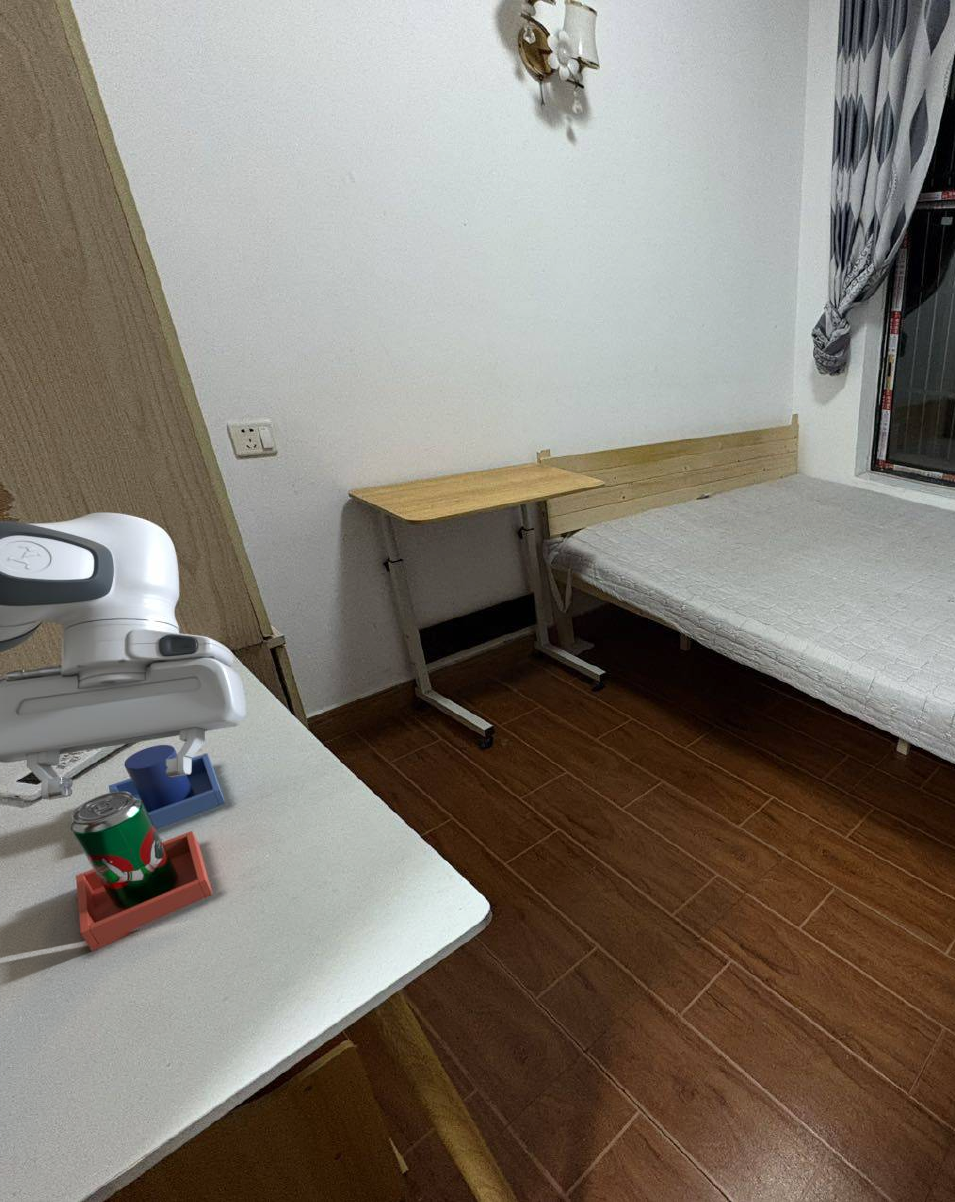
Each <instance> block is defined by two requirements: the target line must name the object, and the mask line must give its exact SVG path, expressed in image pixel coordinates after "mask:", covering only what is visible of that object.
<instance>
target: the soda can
mask: <svg viewBox="0 0 955 1202" xmlns="http://www.w3.org/2000/svg"><path fill="white" fill-rule="evenodd" d="M71 820H72V822H71V824H70V831H71V832H72V834H73V835H74V837H75V839H76V841H77V842H78V844H79V846H80V848H81V850H82V851H83V853H84V856H85V857H86V858H87V860H88V862H89V864H90V866H91V867H92V869H94V871H95V873H96V874H97V876H98V878H99V880H100V881H101V883H102V885H103V887H104V888H105V890H106V892H107V894H108V895H109V897H110V899H111V901H112V902H113V904H114V905H115V906H116V907H118V908H122V909H129V908H131V907H134V906H136V905H138V904H141V903H143V902H145V901H148V900H150V899H153V898H155V897H157V896H160V895H162V894H164V893H167V892H169V891H171V889H172V888H173V887H174V885H175V884H176V882H177V880H178V873H177V871H176V869H175V867H174V865H173V863H172V861H171V859H170V857H169V855H168V853H167V851H166V849H165V847H164V845H163V843H162V842H163V840H162V839H161V837H160V834H159V833H158V829H156V828H155V826H154V824H153V822H152V820H151V818H150V816H149V814H148V812H147V810H146V808H145V806H144V804H143V802H142V800H141V799H139V798H137V797H134V796H133V794H131V793H130V792H126V791H118V792H111V793H110V792H107V793H104V794H100V795H98V796H96V797H94V798H90V799H89V800H87V801H85V802H83V803H82V804H81V805H79V806H78V807H77V808H76V809H75V810H74V811H73V812H72V814H71Z"/></svg>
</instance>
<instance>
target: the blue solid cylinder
mask: <svg viewBox="0 0 955 1202" xmlns="http://www.w3.org/2000/svg"><path fill="white" fill-rule="evenodd" d="M177 755H178V753H177V750H176V749H175V747H174V746H172V745H169V744H158V745H153V746H149V747H146V748H143V749H141V750H138V751H137V752H134V753H133V754H131V755H129V756H128V757H127V759H125V761H124V768H125V770H126V772H127V773H128V776H129V777H130V778H131V780H132V782H133V784H134V786H135V788H136V790H137V792H138V794H139V796H140V798H141V800H142V802H143V804H144V806H145V808H146V810H147V811H148V812H152V811H154V810H157V809H160V808H163V807H166V806H168V805H171V804H174V803H177V802H179V801H182V800H185V799H188V798H191V797H193V796H194V791H193V789H192V787H191V784H190V782H189V780H188V778H187V775H184V776H178V777H168V776H167V775H166V769H167V768H168V767H167V766H166V759H171V758H177V757H176V756H177ZM130 778H129V779H130Z"/></svg>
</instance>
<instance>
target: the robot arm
mask: <svg viewBox="0 0 955 1202" xmlns="http://www.w3.org/2000/svg"><path fill="white" fill-rule="evenodd" d="M174 544H175V543H174V542H173V540H172V539H171V536H170V535H169V534H168V533H167V532H166V530H164V529H163V527H160V525H158V524H156V523H154V522H152V521H150V520H147V519H144V518H142V517H139V516H135V515H131V514H127V513H119V512H110V511H109V512H108V511H104V512H93V513H88V514H85V515H83V516H81V517H78V518H74V519H69V520H64V521H55V522H54V521H53V522H43V523H41V522H40V523H37V522H36V523H25V522H19V521H11V520H0V653H3V652H6V651H8V650H11V649H14V648H16V647H18V646H19V645H21V644H23V643H25V642H26V641H27V640H28V639H29V638H31V637H32V636H33V635H34V634H35V633H36V631H37V630H38V629H39V628H40V626H41V625H42V624H43V623H55V624H57V625H60V627H62V643H61V644H62V646H61V664H59V665H53V666H45V667H44V666H43V667H40V668H35V669H27V670H26V669H18V670H12V671H9V672H7V673H5V675H4V676H1V677H0V763H2V764H3V763H5V764H8V763H16V762H22V761H26V767H27V768H28V769H29V770H30V771H31V773H32V774H33V775H34V776H35V777H36V779H38V780H39V781H40V782H41V789H40V797H41V798H42V799H43V800H49V801H50V800H56V799H61V798H67V797H71V796H72V794H73V789H72V787H73V783H74V782H73V781H74V779H73V778H69V777H68V778H66V777H60V776H59V774H58V773H57V772H56V771H55V769H54V768H53V767H55V766H58V765H59V764H60V758H61V755H65V754H71V753H77V752H78V753H79V752H84V751H91V750H96V749H103V748H109V747H115V746H121V745H128V744H134V743H141V742H146V741H152V740H158V739H165V738H170V737H177V736H178V737H179V740H180V741H182V742H184V743H183V745H182V746H181V748H180V750H179V751H178V753H177V756H176V757H177V758H171V759H166V766H167V767H168V768H167V769H166V775H167V776H168V777H178V776H184V775H189V774H191V770H192V758H194V757H196V754H197V753H198V752H199V750H200V749H201V748H202V746H203V744H204V743H205V742H206V732H209V731H214V730H221V729H227V728H233V727H238V726H239V725H240V724H241V723H242V722H243V720H244V719H245V718H246V716H247V702H246V696H245V695H246V694H245V690H244V685H243V681H242V678H241V676H240V674H239V673H238V672H237V671H235V669H233V668H232V667H231V666H233V664H234V660H235V659H234V658H235V657H234V653H233V652H232V651H231V650H230V649H229V648H228V646H226V645H224V644H222V643H220V642H219V641H217V640H215V639H214V638H210V637H209V636H205V635H197V634H188V633H180V626H179V623H178V620H177V619H176V614H175V613H176V612H175V609H176V606H177V604H178V601H179V599H180V574H179V564H178V556H177V551H176V547H175V545H174Z"/></svg>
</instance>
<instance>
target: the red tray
mask: <svg viewBox="0 0 955 1202" xmlns="http://www.w3.org/2000/svg"><path fill="white" fill-rule="evenodd" d="M162 843H163V845H164V847H165V849H166V851H167V853H168V855H169V857H170V859H171V861H172V863H173V865H174V867H175V869H176V871H177V873H178V880H177V882H176V884H175V885H174V887H173V888H172V889H171V891H169V892H167V893H164V894H162V895H160V896H157V897H155V898H153V899H150V900H148V901H145V902H143V903H141V904H138V905H136V906H134V907H131V908H129V909H122V908H118V907H116V906H115V905H114V904H113V902H112V901H111V899H110V897H109V895H108V894H107V892H106V890H105V888H104V887H103V885H102V883H101V881H100V880H99V878H98V876H97V874H96V873H95V871H94V869H93V868H92V869H90V870H87V871H85V872H82V873H79V874H77V875H75V880H76V892H77V906H78V919H79V931H80V933H79V934H80V935H81V937H82V938H83V940H84V941H85V943H86V945H87V946H88V948H89V950H90V951H91V952H94V951H97V950H98V949H101V948H103V947H106V946H107V945H110V944H112V943H114V942H116V941H119V940H121V939H123V938H125V937H128V936H130V935H132V934H135V933H136V932H139V931H140V929H138V928H140V927H143V926H145V925H147V924H149V923H152V922H153V921H156V920H159V919H161V918H163V917H165V916H167V915H169V914H172V913H174V912H176V911H178V910H179V911H180V910H181V909H183V908H185V907H188V906H189V905H192V904H194V903H196V902H199V901H202V900H203V899H206V898H208V897H210V896H213V891H212V887H211V883H210V879H209V876H208V873H207V870H206V865H205V861H204V858H203V855H202V851H201V847H200V844H199V842H198V840H197V838H196V836H195V833H194V831H193V830H191V831H188V832H185V833H183V834H180V835H177V836H175V837H172V838H170V839H168V840H165V841H162ZM135 929H136V930H135Z"/></svg>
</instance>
